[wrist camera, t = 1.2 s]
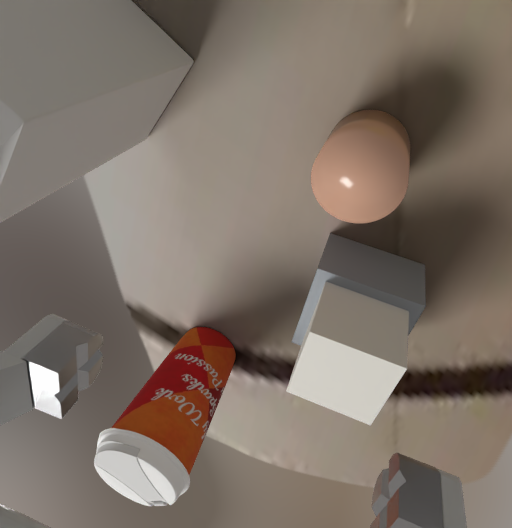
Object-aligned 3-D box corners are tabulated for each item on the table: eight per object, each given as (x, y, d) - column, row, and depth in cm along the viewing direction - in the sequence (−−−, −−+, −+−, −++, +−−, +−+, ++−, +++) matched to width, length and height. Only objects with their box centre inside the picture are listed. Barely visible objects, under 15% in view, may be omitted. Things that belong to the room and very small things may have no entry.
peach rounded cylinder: (340, 99, 26) (325, 120, 22) (424, 123, 25) (425, 149, 21) (317, 176, 29) (301, 207, 25) (391, 199, 28) (387, 235, 24)
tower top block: (325, 281, 27) (309, 331, 23) (409, 311, 27) (406, 368, 23) (303, 338, 31) (286, 391, 27) (377, 366, 30) (370, 425, 26)
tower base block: (330, 231, 31) (317, 268, 27) (424, 263, 30) (425, 306, 26) (305, 301, 35) (291, 342, 31) (388, 331, 34) (383, 376, 30)
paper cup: (261, 367, 41) (202, 510, 30) (204, 382, 45) (134, 513, 34) (214, 306, 39) (131, 437, 28) (159, 328, 43) (67, 450, 32)
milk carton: (109, -23, 26) (-309, -30, 11) (196, 60, 27) (-78, 157, 12) (70, 70, 30) (-272, 155, 15) (147, 139, 32) (-103, 283, 16)
